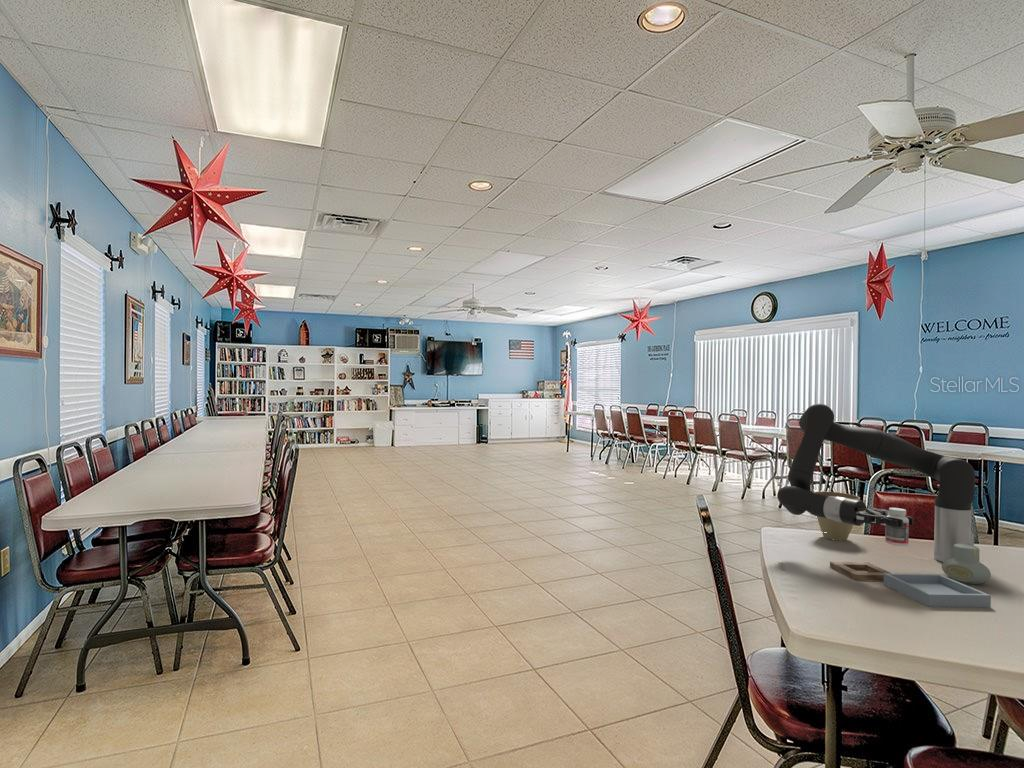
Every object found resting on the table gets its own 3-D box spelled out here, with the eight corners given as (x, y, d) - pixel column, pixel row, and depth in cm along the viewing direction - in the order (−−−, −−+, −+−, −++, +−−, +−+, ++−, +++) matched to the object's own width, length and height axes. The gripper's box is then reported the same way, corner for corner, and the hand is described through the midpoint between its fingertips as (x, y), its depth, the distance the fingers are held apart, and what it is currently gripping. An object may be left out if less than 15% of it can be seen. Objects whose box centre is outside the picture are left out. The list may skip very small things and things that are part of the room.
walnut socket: (868, 567, 170) (868, 562, 170) (896, 580, 158) (896, 575, 158) (829, 566, 169) (829, 561, 169) (855, 580, 157) (855, 574, 157)
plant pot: (804, 536, 205) (805, 493, 206) (823, 531, 214) (823, 490, 215) (848, 546, 194) (849, 500, 194) (866, 540, 203) (866, 496, 203)
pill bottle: (911, 547, 152) (912, 511, 152) (888, 545, 154) (889, 510, 154) (904, 542, 157) (905, 507, 157) (882, 540, 159) (883, 506, 159)
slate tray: (939, 585, 155) (939, 574, 155) (990, 607, 139) (990, 595, 139) (883, 584, 155) (883, 573, 155) (928, 606, 139) (928, 594, 139)
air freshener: (995, 584, 157) (996, 549, 157) (983, 589, 153) (983, 552, 153) (949, 573, 166) (950, 539, 166) (936, 577, 162) (937, 543, 162)
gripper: (831, 499, 164) (895, 511, 150) (857, 495, 171) (920, 506, 157) (831, 525, 164) (894, 539, 149) (857, 520, 171) (919, 533, 157)
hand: (907, 522), depth 153 cm, fingers closed on pill bottle, 5 cm apart
